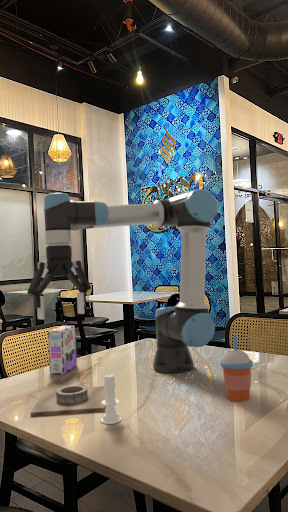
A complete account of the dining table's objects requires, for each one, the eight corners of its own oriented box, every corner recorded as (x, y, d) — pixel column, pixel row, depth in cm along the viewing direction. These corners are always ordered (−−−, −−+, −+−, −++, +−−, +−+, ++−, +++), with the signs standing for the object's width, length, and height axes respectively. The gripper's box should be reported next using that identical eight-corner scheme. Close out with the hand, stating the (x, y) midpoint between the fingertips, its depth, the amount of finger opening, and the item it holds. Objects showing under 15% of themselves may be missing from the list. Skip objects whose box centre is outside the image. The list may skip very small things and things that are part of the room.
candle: (97, 423, 105) (94, 375, 105) (106, 415, 110) (104, 370, 110) (116, 425, 103) (114, 377, 103) (124, 417, 108) (122, 371, 108)
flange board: (107, 389, 133) (106, 378, 133) (104, 411, 113) (104, 398, 113) (44, 393, 132) (44, 382, 132) (30, 416, 112) (30, 403, 112)
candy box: (64, 374, 154) (61, 330, 154) (49, 374, 155) (47, 330, 155) (77, 365, 168) (75, 324, 168) (63, 365, 169) (61, 325, 169)
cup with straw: (236, 406, 112) (232, 339, 113) (215, 397, 120) (212, 335, 121) (261, 399, 116) (258, 335, 117) (240, 391, 125) (236, 331, 125)
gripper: (86, 245, 135) (89, 310, 135) (13, 246, 119) (16, 320, 118) (100, 244, 130) (103, 312, 129) (25, 244, 113) (28, 322, 113)
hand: (61, 316), depth 124 cm, fingers open, 13 cm apart
